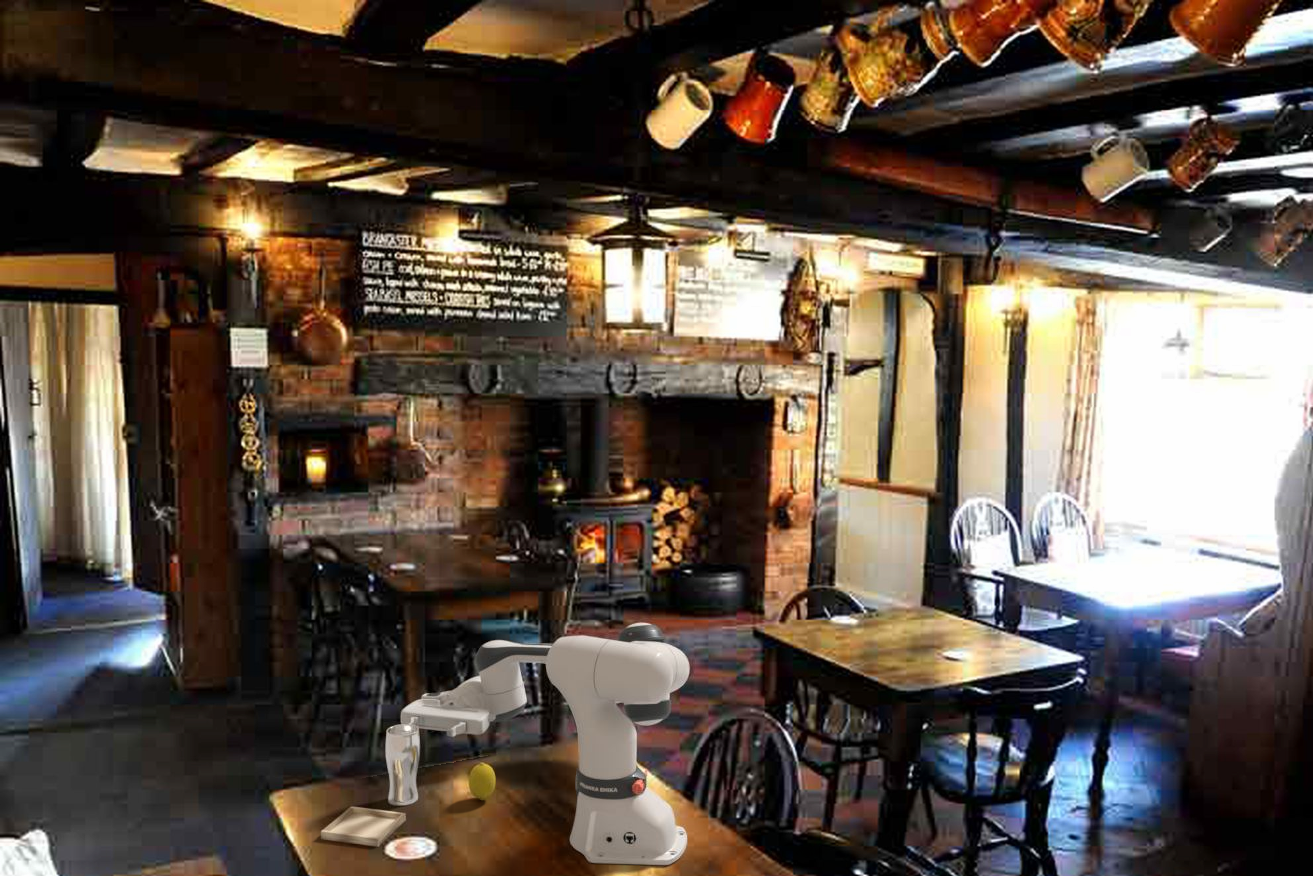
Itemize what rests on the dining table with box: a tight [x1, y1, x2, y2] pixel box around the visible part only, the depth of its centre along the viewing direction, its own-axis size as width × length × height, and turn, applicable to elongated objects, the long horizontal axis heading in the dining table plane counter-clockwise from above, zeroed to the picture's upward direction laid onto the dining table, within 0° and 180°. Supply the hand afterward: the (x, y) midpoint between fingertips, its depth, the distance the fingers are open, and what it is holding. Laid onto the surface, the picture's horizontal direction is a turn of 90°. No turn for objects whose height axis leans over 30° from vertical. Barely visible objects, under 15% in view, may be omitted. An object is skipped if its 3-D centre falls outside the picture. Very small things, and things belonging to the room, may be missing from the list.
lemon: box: [468, 762, 497, 801], centre depth 206 cm, size 6×6×8 cm
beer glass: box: [385, 724, 421, 807], centre depth 205 cm, size 7×7×15 cm
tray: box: [320, 805, 407, 848], centre depth 192 cm, size 12×11×2 cm
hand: (430, 730), depth 217 cm, fingers open, 8 cm apart
